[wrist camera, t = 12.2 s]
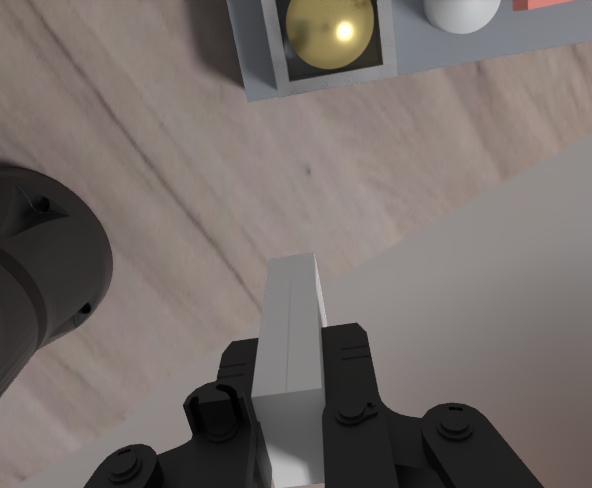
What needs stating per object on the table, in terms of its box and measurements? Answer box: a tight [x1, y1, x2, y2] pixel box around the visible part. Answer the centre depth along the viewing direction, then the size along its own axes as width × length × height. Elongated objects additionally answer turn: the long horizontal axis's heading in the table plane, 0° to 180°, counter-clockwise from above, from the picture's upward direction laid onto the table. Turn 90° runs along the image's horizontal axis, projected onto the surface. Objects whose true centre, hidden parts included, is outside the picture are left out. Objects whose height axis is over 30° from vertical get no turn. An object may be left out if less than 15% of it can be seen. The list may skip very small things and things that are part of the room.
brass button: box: [286, 0, 374, 69], centre depth 30 cm, size 5×5×3 cm
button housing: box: [261, 0, 398, 97], centre depth 31 cm, size 7×7×2 cm
